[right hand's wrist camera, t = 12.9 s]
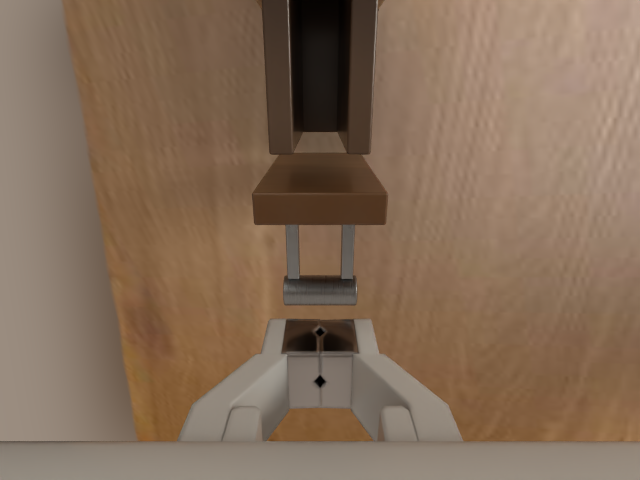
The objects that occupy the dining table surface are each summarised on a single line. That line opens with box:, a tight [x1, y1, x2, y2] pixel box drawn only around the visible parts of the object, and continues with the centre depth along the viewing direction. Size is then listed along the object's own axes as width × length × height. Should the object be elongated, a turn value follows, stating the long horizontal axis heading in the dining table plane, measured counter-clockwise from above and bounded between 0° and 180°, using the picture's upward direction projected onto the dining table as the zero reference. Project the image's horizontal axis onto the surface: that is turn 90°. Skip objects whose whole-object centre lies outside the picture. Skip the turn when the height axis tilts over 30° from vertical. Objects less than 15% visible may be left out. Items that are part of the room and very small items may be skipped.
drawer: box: [252, 0, 388, 305], centre depth 15 cm, size 24×5×9 cm, turn 0°
